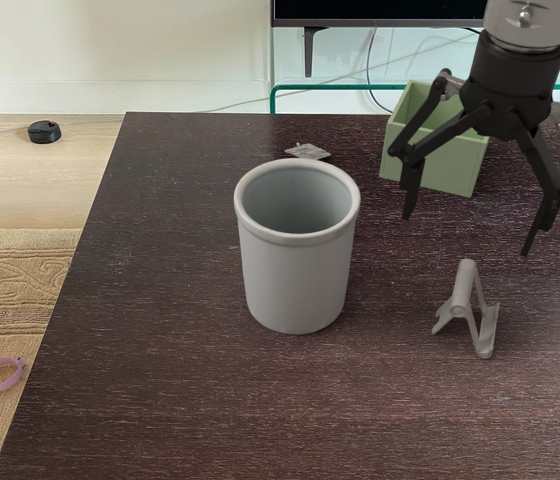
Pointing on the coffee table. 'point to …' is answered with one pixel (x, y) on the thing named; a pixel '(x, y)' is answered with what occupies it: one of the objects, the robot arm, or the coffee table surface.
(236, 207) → the utensil holder
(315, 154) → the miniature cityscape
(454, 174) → the bin
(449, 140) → the robot arm
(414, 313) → the coffee table surface
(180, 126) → the coffee table surface
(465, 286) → the tablet stand
